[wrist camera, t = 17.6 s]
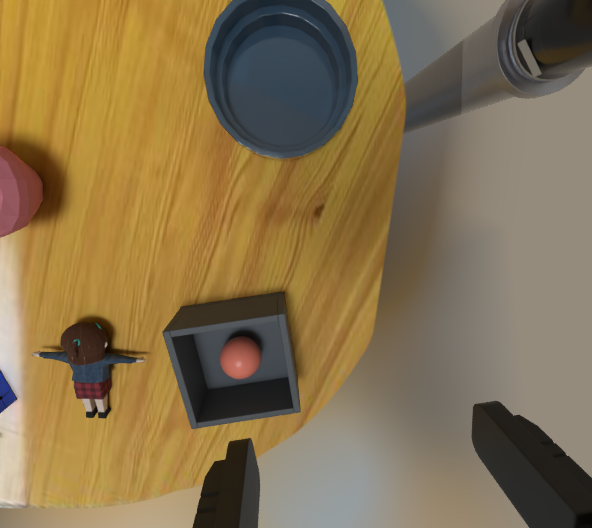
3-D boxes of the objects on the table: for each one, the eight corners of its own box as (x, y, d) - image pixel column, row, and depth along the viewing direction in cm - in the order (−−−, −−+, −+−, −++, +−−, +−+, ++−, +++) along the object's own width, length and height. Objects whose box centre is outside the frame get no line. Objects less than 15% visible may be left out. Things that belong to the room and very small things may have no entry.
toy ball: (257, 325, 40) (258, 346, 35) (263, 358, 41) (265, 383, 36) (218, 333, 39) (213, 355, 34) (226, 366, 41) (222, 392, 36)
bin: (283, 291, 39) (284, 313, 33) (297, 377, 43) (300, 412, 36) (181, 306, 39) (162, 332, 32) (204, 391, 43) (191, 429, 36)
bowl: (339, 4, 30) (351, -28, 25) (350, 151, 34) (362, 147, 30) (201, 23, 30) (187, -6, 25) (229, 168, 34) (221, 167, 29)
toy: (154, 407, 44) (148, 319, 39) (139, 435, 39) (130, 341, 34) (54, 402, 43) (35, 311, 38) (28, 431, 38) (2, 333, 33)
